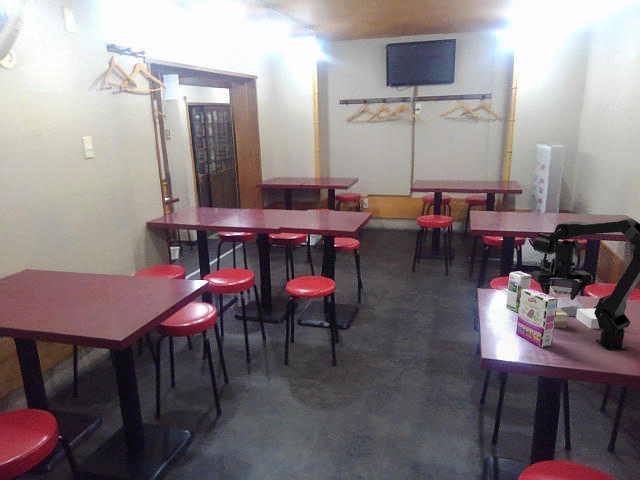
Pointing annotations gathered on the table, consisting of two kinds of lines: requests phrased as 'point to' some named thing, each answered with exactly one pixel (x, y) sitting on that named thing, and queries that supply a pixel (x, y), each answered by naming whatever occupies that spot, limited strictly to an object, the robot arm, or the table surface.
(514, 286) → the syrup box
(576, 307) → the stone block
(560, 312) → the birch cube
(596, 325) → the base block
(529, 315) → the candy bar box
